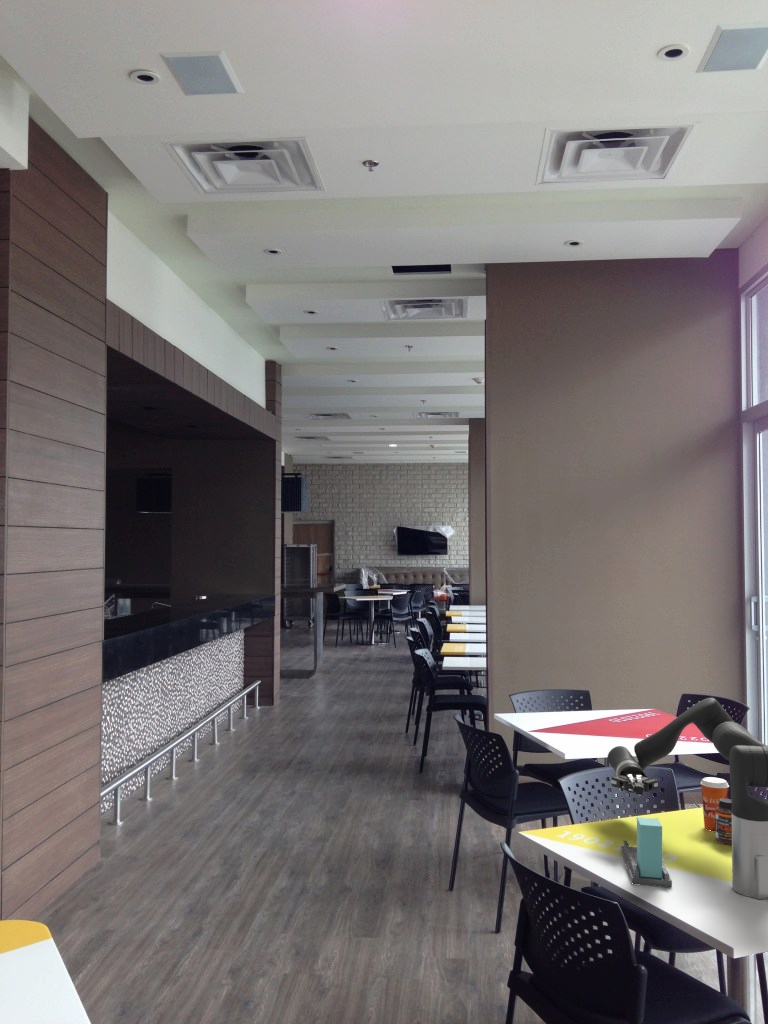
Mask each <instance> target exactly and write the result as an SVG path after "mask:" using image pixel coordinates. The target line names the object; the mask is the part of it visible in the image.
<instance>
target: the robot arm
mask: <svg viewBox="0 0 768 1024" xmlns="http://www.w3.org/2000/svg"><path fill="white" fill-rule="evenodd" d="M690 724H693V725H695V726H696V727H697V729H698V730H699V731H700V733H701V734H702V736H704V737H705V738H706V739H707V740H708V741H709V742H711V743H712V744H713V746H714V748H715V750H716V751H717V752H718V753H719V754H720V755H721V757H723V758H724V759H725V760H727V761H728V762H729V763H728V765H729V778H730V799H731V803H732V845H731V870H732V871H731V873H732V877H731V879H732V880H731V881H732V883H731V885H732V886H731V887H732V890H733V891H735V892H737V893H739V894H740V895H743V896H746V897H750V898H755V899H757V900H764V899H768V801H766V800H763V799H761V798H759V797H756V796H754V795H752V794H751V793H750V792H749V787H753V788H756V787H757V788H768V745H767V744H765V743H763V742H761V741H760V740H759V739H757V738H756V737H755V735H754V736H753V735H752V734H751V732H749V731H748V730H747V729H746V728H745V727H744V726H742V724H739V723H737V722H735V721H734V720H733V718H732V717H731V715H730V714H729V713H728V712H727V710H725V709H724V707H723V706H722V705H721V704H720V702H719V701H718V700H717V699H716V698H714V697H707V698H704V699H702V700H701V701H699V702H697V703H695V704H694V705H692V706H691V707H689V708H688V709H686V710H685V711H684V712H683V713H681V714H679V715H678V716H677V717H676V718H674V719H673V720H672V721H670V722H669V723H667V725H665V726H663V728H661V729H660V730H658V731H657V732H656V731H655V733H652V734H651V735H649V736H647V737H646V738H643V739H641V740H640V741H638V742H636V744H635V745H634V747H633V750H634V754H635V757H636V759H637V760H636V759H635V757H634V756H633V755H632V753H631V752H630V751H629V749H628V748H627V747H625V746H622V745H618V746H615V747H613V748H611V749H610V750H609V752H608V754H607V756H606V757H607V758H606V759H607V762H608V763H609V764H610V766H611V767H612V769H613V770H614V772H615V775H616V776H614V775H612V776H611V783H610V784H611V787H613V788H618V789H620V790H623V791H626V792H628V793H632V794H633V793H634V794H635V795H642V794H644V793H648V792H652V791H655V790H658V789H659V788H658V786H659V784H658V783H659V781H658V780H659V779H657V778H653V779H649V777H647V775H646V773H645V771H644V770H645V769H646V768H648V767H649V766H651V764H653V763H656V762H657V761H659V760H662V759H663V758H665V757H668V756H669V755H670V754H671V752H672V751H673V750H674V749H675V746H676V745H677V742H678V740H679V738H680V736H681V735H682V733H683V730H684V729H686V728H687V726H689V725H690Z"/></svg>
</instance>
